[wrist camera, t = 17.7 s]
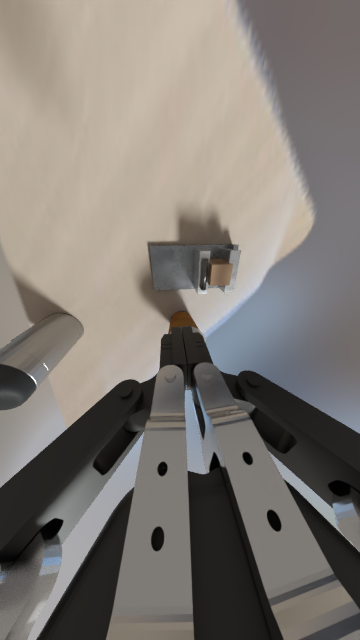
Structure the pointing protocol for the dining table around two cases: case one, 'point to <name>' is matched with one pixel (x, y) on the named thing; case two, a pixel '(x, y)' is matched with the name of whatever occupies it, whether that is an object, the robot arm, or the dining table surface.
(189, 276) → the vise bed
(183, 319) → the disposable coffee cup
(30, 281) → the dining table surface
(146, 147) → the dining table surface
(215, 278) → the walnut block
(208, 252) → the block
